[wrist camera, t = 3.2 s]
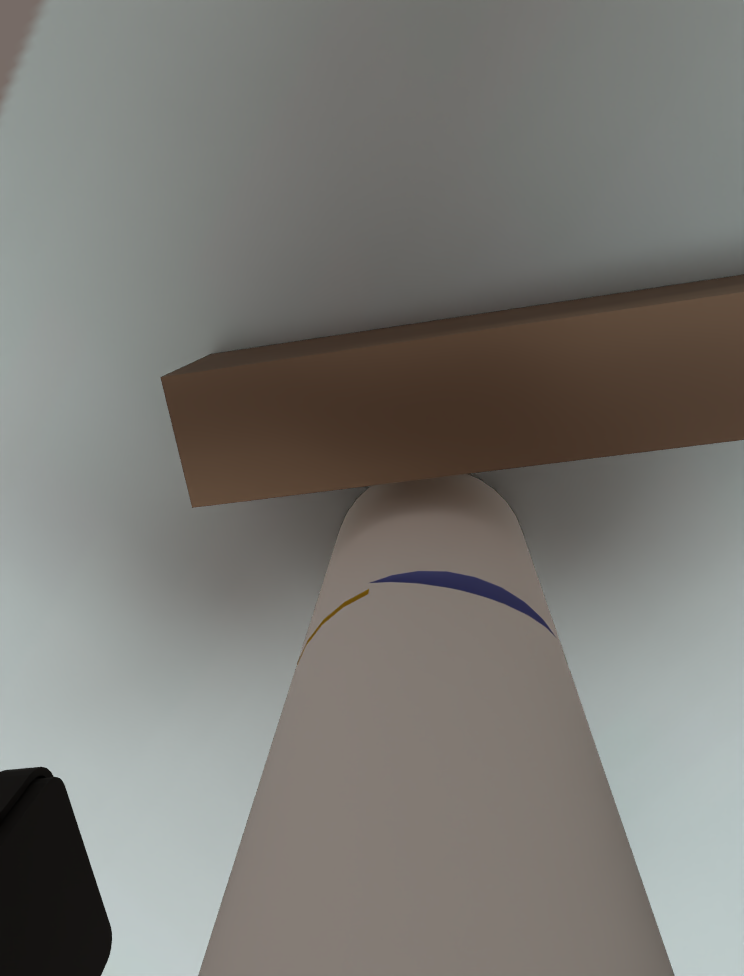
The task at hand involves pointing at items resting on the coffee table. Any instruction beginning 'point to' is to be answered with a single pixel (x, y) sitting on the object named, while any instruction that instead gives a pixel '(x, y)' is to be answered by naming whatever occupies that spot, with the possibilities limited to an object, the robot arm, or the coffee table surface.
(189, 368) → the walnut straightedge
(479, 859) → the tube
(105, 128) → the coffee table surface
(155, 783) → the coffee table surface
